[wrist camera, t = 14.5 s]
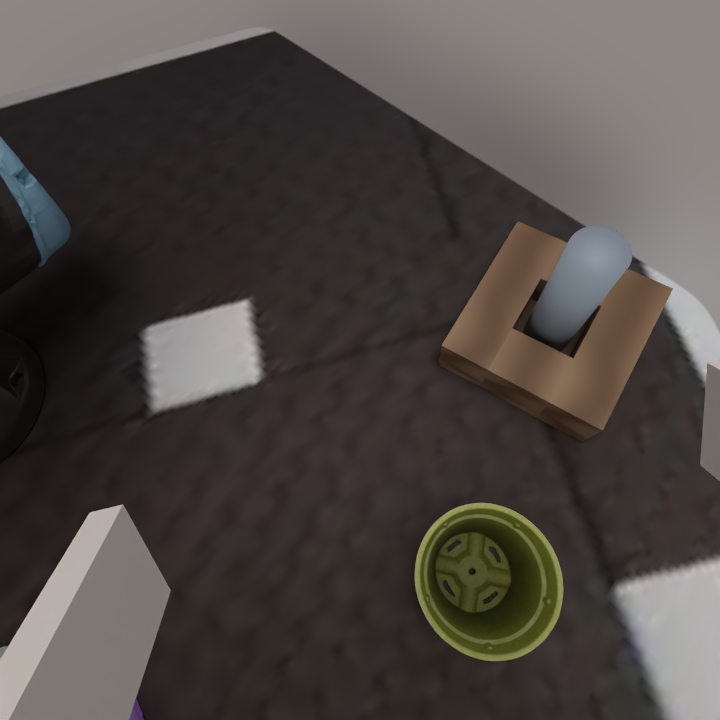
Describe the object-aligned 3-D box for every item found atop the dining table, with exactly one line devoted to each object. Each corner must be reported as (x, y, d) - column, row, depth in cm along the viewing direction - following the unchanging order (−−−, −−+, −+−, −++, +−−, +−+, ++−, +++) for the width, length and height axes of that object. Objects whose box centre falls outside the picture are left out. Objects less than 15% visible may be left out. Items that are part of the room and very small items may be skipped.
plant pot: (479, 487, 42) (494, 474, 34) (557, 585, 39) (595, 598, 31) (391, 555, 41) (386, 559, 33) (465, 662, 38) (479, 696, 30)
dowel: (514, 343, 45) (556, 262, 32) (534, 308, 46) (582, 216, 33) (556, 364, 44) (616, 289, 31) (575, 328, 45) (642, 241, 32)
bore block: (438, 365, 46) (441, 345, 42) (507, 251, 50) (517, 221, 45) (582, 442, 43) (602, 430, 38) (646, 314, 46) (672, 288, 41)
